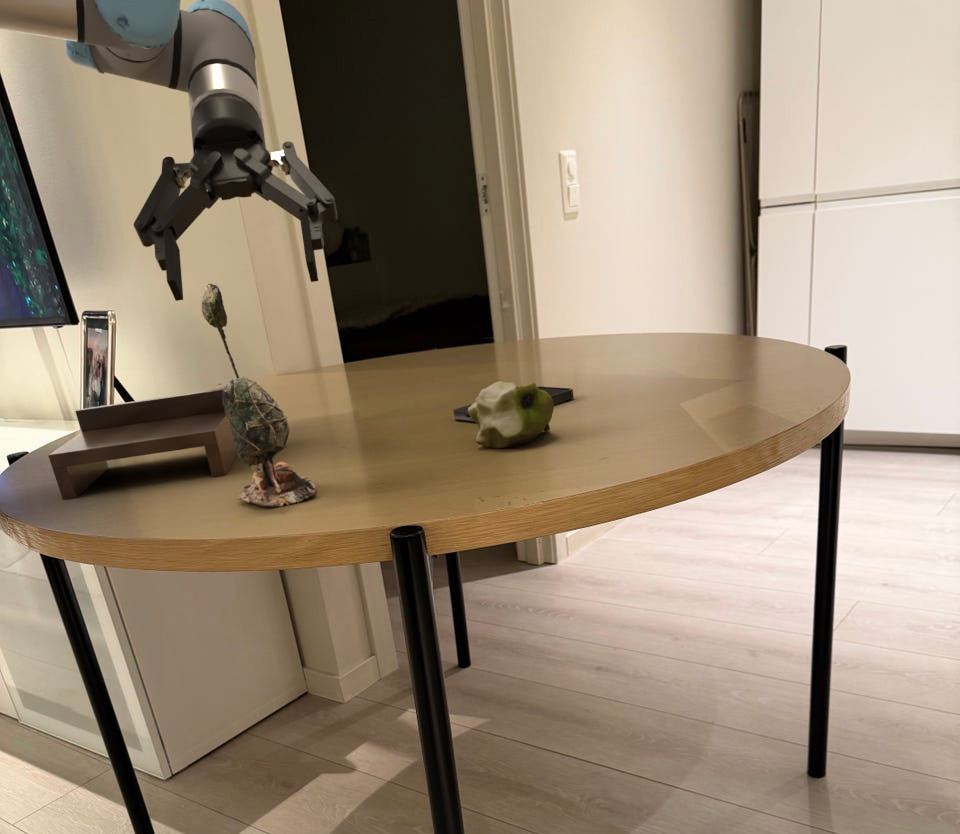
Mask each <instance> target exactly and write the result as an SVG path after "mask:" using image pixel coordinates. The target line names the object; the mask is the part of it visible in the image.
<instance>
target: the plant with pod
mask: <svg viewBox="0 0 960 834" xmlns="http://www.w3.org/2000/svg"><path fill="white" fill-rule="evenodd" d="M200 308H201V313H202V315H203V318H204V320H205V321H206V322H207V323H208V324H209V325H210V326H211V327H213V328H215V329H217V331H218V333H219V335H220V338H221V341H222V343H223V346H224V349H225V352H226V354H227V355H228V359H229V362H230V364H231V368H232V370H233V373H234V375H235V377H236V378H232V379H231V380H230V381H229V382H228V383H226V385H225V386H224V387H223V388H224V389H223V388H222V389H223V392H222V394H223V405H224V410H225V413H226V417H227V420H228V422H229V424H230V428H231V432H232V436H233V441H234V446H235V447H234V448H235V451H236V454H237V456H236V457H237V458H239V459H240V460H241V461H242V462H243V463H244V464H246V465H247V466H248V467H249V468H250V469H251V470H252V471H254V472H253V474H252V481H251V484H247V485H245V486H243V488H244V489H243V488H242V491H243V492H242V493H241V494H239V495H238V496H237V497H236V500H238V501H239V502H240V501H244V502H246V503H251V504H253V505H257V506H259V507H267V508H268V507H269V508H272V507H273V508H276V507H283V506H284V504H286V505H287V506H289V505H290V504H294V503H296V502H297V503H300V502H303V501H304V499H308V498H309V497H312V496H314V495H315V494H316V492H317V489H316V488H317V483H316V482H315V483H314V482H312V480H311V479H309V478H310V477H309V476H306V477H305V476H300V475H298V474H297V472H296V471H295V469H293V467H292V466H291V465H290V464H289V463H288V462H285V461H278V462H277V463H275V464H274V461H273V458H274V457H275V456H276V455H277V454H279V453H280V452H281V451H284V450H285V449H286V448H287V447H288V443H287V441H288V440H289V435H290V426H289V423H288V420H287V418H288V417H287V415H286V414H285V413H284V411H283V410H282V408H281V407H280V405H279V404H278V401H277V400H275V398H274V397H272V396H271V395H270V393H268V392H267V390H265V389H264V388H263V387H262V386H261V385H260V384H259V383H258V382H257V381H255V380H253V379H251V378H248V377H245V376H241V377H240V376H239V374H238V370H237V369H236V364H235V362H234V359H233V357H232V355H231V352H230V350H229V345H228V344H227V340H226V338H227V336H226V334H225V330H224V329H223V328H225V327H227V325H228V316H227V312H226V309H225V305H224V299H223V295H222V292H221V290H220V288H219V286H217V285H216V284H213V283H207V285H206V288H205V291H204V293H203V296H202V300H201V306H200ZM220 385H222V383H217V386H220Z"/></svg>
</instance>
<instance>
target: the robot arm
mask: <svg viewBox="0 0 960 834" xmlns="http://www.w3.org/2000/svg"><path fill="white" fill-rule="evenodd" d="M1 30H2V31H7V32H14V33H21V34H26V35H33V36H39V37H45V38H53V39H58V40H63V41H65V43H64V44H65V53H66V56H67V57H68V59H69V60H70V61H71V62H73V63H74V64H76V65H79V66H83V67H85V68H89V69H92V70H94V71H96V72H98V73H99V74H103V75H104V74H110V75H114V76H119V77H123V78H127V79H130V80H135V81H139V82H144V83H147V84H152V85H156V86H161V87H165V88H168V89H171V90H176V91H179V92H183V93H187V94H188V106H189V108H188V109H189V119H190V128H191V141H192V152H193V155H192V158H191V159H190V161H189V162H177V163H176V162H175V161H176V160H175V159H174V157H172V156H165V157H164V158H163V159H162V162H161V173H160V175H159V177H158V179H157V181H156V182H155V184H154V186H153V188H152V189H151V191H150V192H149V195H148V197H147V198H146V200H145V201H144V204H143V206H142V208H141V209H140V211H139V213H138V215H137V217H136V219H135V220H134V222H133V227H134V230H135V232H136V234H137V236H138V239H139V241H140V242H141V243H140V244H142V246H143V247H145V248H150V247H152V246H154V258H155V260H156V262H157V264H158V266H159V268H160V270H161V271H162V272H164V271H165V273H166V274H165V275H166V282H167V285H168V287H169V289H170V292H171V294H172V296H173V298H174V300H175V302H177V301H184V291H183V289H184V288H183V278H182V265H181V251H180V247H179V244H178V242H177V241H178V240H179V239H180V238H181V236H182V235H183V234H184V233H185V232H186V231H187V230H188V228H189V227H190V226H191V225H193V223H194V222H195V221H196V220H197V219H198V217H199V216H201V214H202V213H203V212H204V211H205V210H206V209H208V210H209V209H211V208H212V207H213V206H214V205H215V204H216V202H218V200H220V199H221V201H229V200H233V199H234V198H251V197H252V195H253V194H256V195H257V196H258V197H261V198H262V199H263V200H265V201H267V202H269V201H271V202H272V203H274V204H275V205H277V206H278V207H279V208H281V209H283V210H284V211H285V212H287V213H288V214H290V215H291V216H293V217H294V218H296V219H297V220H299V221H300V228H301V236H302V243H303V250H304V256H305V257H304V258H305V263H306V268H307V272H308V275H309V279H310V283H314V282H315V283H316V282H319V276H318V269H317V263H316V256H315V251H320V250H323V249H324V247H325V241H324V240H325V239H324V234H323V224H325V223H326V222H328V223H336V221H338V219H339V217H338V211H337V206H336V199H335V197H334V195H332V193H331V192H330V191H329V189H328V188H327V187H325V185H324V184H323V183H322V182H321V181H320V180H319V179H318V178H317V176H316V175H315V174H314V173H313V172H312V171H311V170H310V169H309V168H308V167H307V165H306V164H305V163H304V162H303V161H302V159H300V157H298V154H297V150H296V148H295V145H294V144H295V143H294V142H292V141H289V140H288V141H285V142H283V143H282V144H281V145H282V146H281V147H282V149H280V150H277V151H272V152H270V151H269V150H268V149H267V145H266V139H265V130H264V129H265V128H264V125H263V124H264V123H263V114H262V113H263V112H262V106H261V99H260V92H259V87H258V79H257V69H256V68H257V67H256V66H257V65H256V50H255V47H254V43H253V39H252V34H251V31H250V28H249V26H248V23H247V21H246V19H245V17H244V15H242V13H241V12H240V11H239V10H238V9H237V8H236V7H235V6H233V5H232V4H231V3H230V2H227V1H226V0H196V1H194V2H193V3H191V5H189V7H187V9H186V10H183V9H181V0H0V31H1ZM274 167H275V168H279V169H280V171H281V172H283V174H284V175H285V176H289V177H290V179H291V181H292V182H293V183H294V184H295V186H296V187H297V188H298V189H299V190H298V189H296V188H295V187H293V186H291V184H289V183H287V182H285V181H284V180H282V179H281V178H280V177H278V176H277V175H275V174H274V173H273V172H272V171H273V170H274ZM189 179H190V180H189ZM188 180H189V184H188V185H187V187H186V183H187V181H188ZM182 189H184V190H183V191H182V192H181V190H182ZM300 191H301V192H300Z"/></svg>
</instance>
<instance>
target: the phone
mask: <svg viewBox="0 0 960 834" xmlns="http://www.w3.org/2000/svg"><path fill="white" fill-rule="evenodd" d="M536 387H537V388H538V389H540V390H544V391H546V392H547V393H548V394H549V395H550V396H551V398H552V401H553V404H554V406H555V405H557V404H560V403H564V402H567V401H566V400H568V401H570V400H569V399H571V400H573V399H574V398H575V397H574V388H569V387H554V386H536ZM572 398H573V399H572ZM472 404H473V403H471V404H467V405H464V406H460V407H457V408H454V409H453V410H452V412H453V418H454V420H455V421H462V422H471V423H476V422H475V421H474V420H471V418H470V415H469V413H468V408H469V407H470V406H471V405H472Z"/></svg>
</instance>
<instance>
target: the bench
mask: <svg viewBox="0 0 960 834" xmlns="http://www.w3.org/2000/svg"><path fill="white" fill-rule="evenodd" d="M224 388H225V387H223V388H217V389H210V390H204V391H203V390H202V391H196V392H189V393H183V394H174V395H169V396H161V397H155V398H148V399H141V400H133V401H128V402H127V401H126V402H120V403H113V404H106V405H100V406H99V405H97V406H93V407H92V406H91V407H85V408H78V409H76V410H75V411H74V412H75V415H76V418H77V421H78V425H79V428H80V431H81V432H79V433H78V434H76V435H75V436H74V437H72V438H71V439H69V440H68V441H67V442H65V443H64V444H62V445H61V446H59V447H58V448H56V449H55V450H54V451H52V452H51V453H50V454H49V453H48V460H49V462H50V465H51V468H52V471H53V474H54V477H55V480H56V483H57V486H58V489H59V493H60V495H61V499H62V500H70V499H76V498H77V497H79V496H80V495H81V494H82V493H83V492H84V491H85V490H86V489H88V487H90V486H91V485H92V484H93V483H94V482H95V481H96V480H98V478H99V477H101V476H102V474H104V473H105V472H106V471H107V470H108V469H109V464H108V461H113V460H120V459H121V460H122V459H127V458H134V457H142V456H148V455H155V454H162V453H169V452H174V451H181V450H188V449H195V448H203V447H204V450H205V454H206V459H207V462H208V466H209V470H210V474H211V477H212V478H216V477H223V476H226V475H227V473H228V471H229V469H230V468H231V466H232V464H233V463H234V461H235V459H236V457H238V456H237V454H236V451H235V448H234V447H235V446H234V441H233V436H232V432H231V428H230V424H229V422H228V420H227V417H226V413H225V410H224V405H223V394H222V392H223V389H224Z"/></svg>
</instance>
